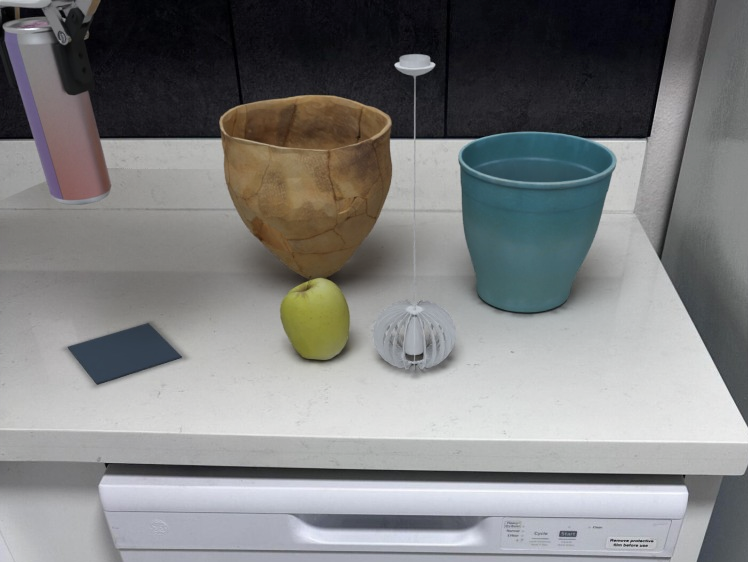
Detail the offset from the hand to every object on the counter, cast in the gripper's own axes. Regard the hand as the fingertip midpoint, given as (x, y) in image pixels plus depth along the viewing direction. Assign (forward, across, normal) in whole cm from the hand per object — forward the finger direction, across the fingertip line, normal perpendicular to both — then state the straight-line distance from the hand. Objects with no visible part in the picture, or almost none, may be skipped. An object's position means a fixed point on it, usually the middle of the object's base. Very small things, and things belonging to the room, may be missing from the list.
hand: (52, 86), depth 73 cm
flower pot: (+28, +38, +33) cm, 57 cm away
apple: (+28, +21, +9) cm, 36 cm away
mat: (+28, 0, 0) cm, 28 cm away
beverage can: (+10, 0, 0) cm, 10 cm away
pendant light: (+28, +32, +12) cm, 44 cm away
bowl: (+28, +11, +26) cm, 40 cm away
